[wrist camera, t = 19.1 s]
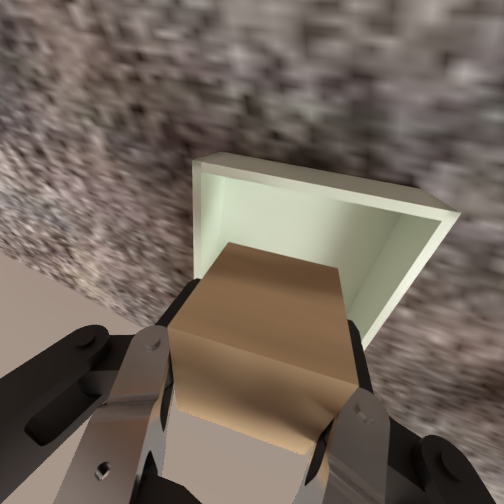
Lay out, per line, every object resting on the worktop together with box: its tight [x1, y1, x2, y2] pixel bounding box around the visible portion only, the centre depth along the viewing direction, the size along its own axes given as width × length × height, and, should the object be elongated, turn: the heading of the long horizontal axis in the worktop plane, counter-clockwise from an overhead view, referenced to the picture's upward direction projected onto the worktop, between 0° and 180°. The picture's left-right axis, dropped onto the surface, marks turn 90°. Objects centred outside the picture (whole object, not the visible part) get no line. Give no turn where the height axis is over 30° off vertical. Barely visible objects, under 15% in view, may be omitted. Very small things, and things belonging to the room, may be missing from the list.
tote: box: [192, 151, 461, 350], centre depth 19 cm, size 19×15×5 cm
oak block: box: [167, 242, 359, 455], centre depth 9 cm, size 5×5×5 cm
